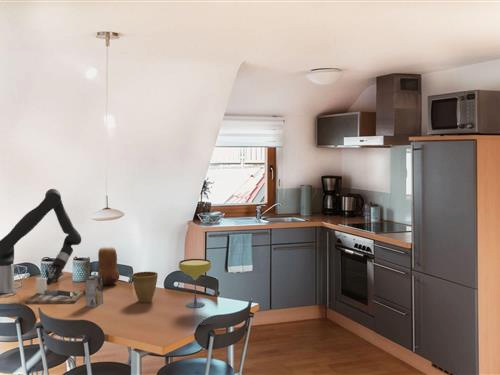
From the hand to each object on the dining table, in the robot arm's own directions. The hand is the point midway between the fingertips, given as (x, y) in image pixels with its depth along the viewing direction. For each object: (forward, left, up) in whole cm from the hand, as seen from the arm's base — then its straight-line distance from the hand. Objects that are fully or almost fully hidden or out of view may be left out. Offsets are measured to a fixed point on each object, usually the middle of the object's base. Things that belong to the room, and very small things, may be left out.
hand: (47, 284), depth 333 cm
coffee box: (+34, -22, -7) cm, 41 cm away
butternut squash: (+32, +23, -7) cm, 40 cm away
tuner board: (+8, -9, -6) cm, 14 cm away
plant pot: (+62, -16, -7) cm, 64 cm away
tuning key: (+6, -8, -4) cm, 11 cm away
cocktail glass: (+92, -26, -7) cm, 96 cm away
